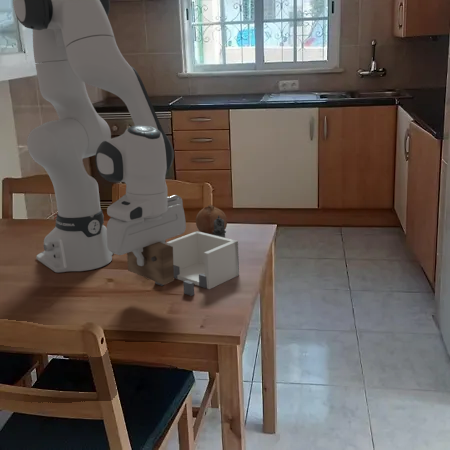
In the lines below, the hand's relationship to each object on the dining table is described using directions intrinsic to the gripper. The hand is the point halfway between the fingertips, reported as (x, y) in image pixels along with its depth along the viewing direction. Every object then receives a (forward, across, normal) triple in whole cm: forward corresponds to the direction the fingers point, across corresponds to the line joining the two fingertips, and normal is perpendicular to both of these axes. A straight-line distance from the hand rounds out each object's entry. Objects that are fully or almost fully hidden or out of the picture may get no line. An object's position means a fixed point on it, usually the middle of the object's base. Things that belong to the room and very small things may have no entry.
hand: (149, 262), depth 131 cm
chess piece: (+10, -30, -6) cm, 32 cm away
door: (+3, 0, 0) cm, 3 cm away
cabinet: (+9, -15, -1) cm, 18 cm away
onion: (+10, -42, -20) cm, 47 cm away
